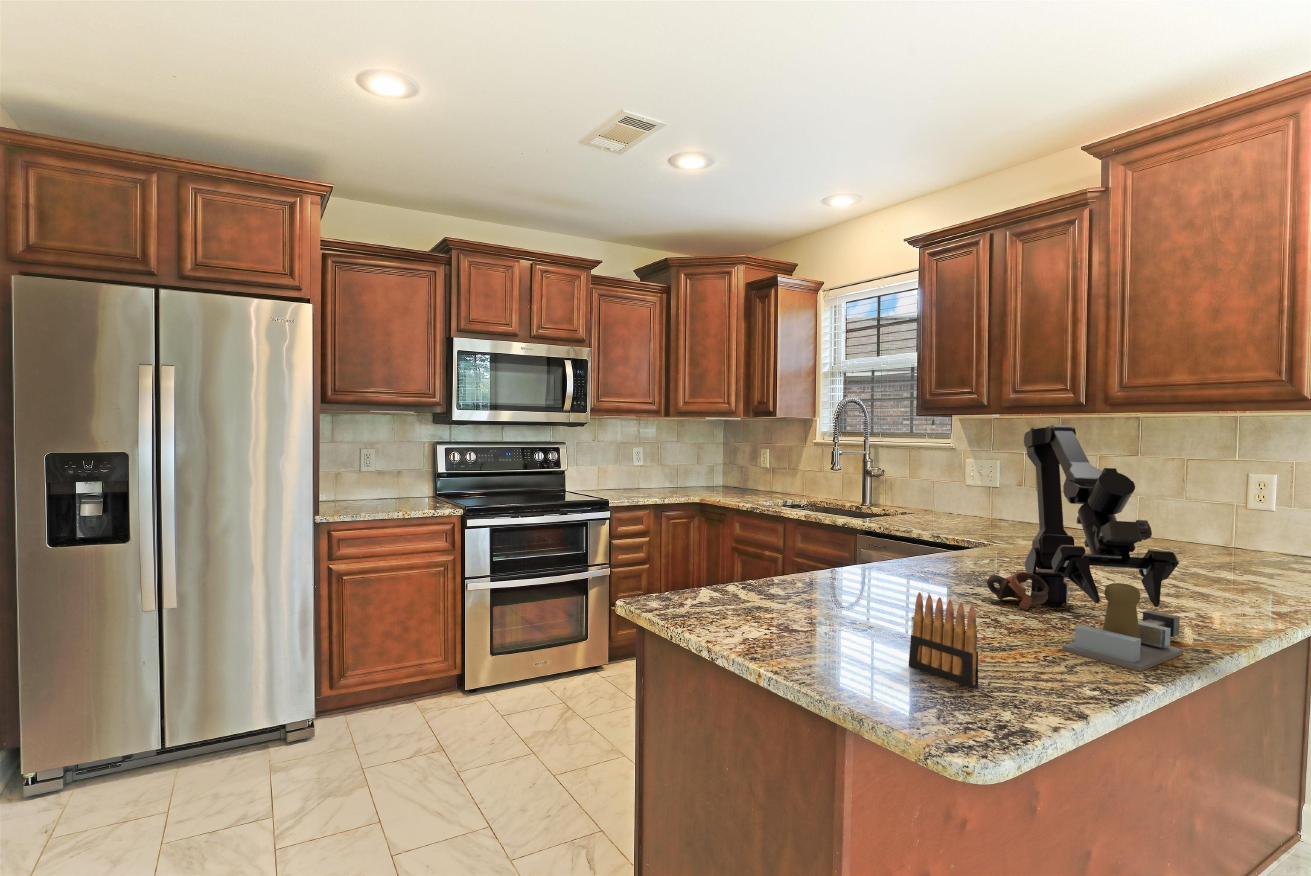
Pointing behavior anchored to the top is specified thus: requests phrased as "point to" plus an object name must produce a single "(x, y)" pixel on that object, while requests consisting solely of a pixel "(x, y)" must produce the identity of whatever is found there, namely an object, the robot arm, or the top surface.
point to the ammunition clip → (945, 642)
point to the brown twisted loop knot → (1019, 588)
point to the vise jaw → (1158, 628)
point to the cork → (1122, 609)
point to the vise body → (1118, 649)
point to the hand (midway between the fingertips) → (1127, 603)
